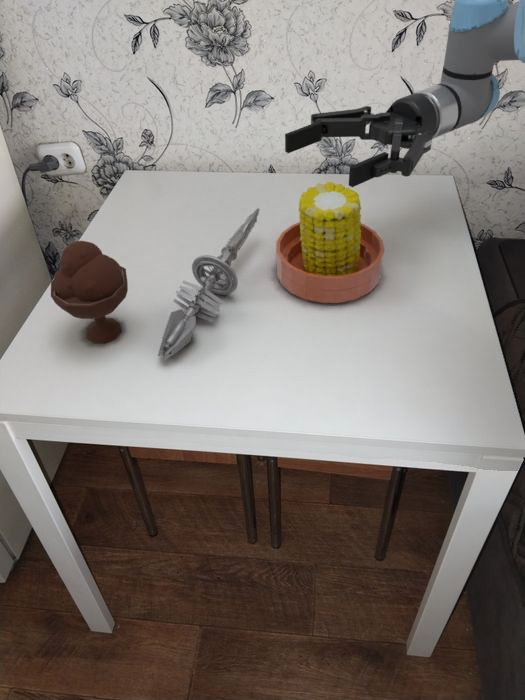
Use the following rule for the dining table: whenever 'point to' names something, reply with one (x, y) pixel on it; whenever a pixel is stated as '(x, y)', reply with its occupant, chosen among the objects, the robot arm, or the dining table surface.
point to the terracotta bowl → (328, 286)
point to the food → (330, 229)
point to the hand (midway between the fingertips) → (317, 159)
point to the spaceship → (204, 291)
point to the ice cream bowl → (90, 288)
